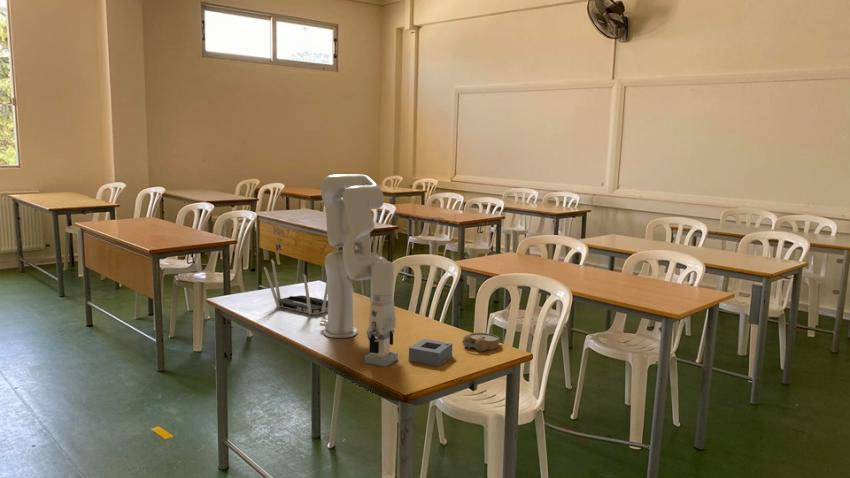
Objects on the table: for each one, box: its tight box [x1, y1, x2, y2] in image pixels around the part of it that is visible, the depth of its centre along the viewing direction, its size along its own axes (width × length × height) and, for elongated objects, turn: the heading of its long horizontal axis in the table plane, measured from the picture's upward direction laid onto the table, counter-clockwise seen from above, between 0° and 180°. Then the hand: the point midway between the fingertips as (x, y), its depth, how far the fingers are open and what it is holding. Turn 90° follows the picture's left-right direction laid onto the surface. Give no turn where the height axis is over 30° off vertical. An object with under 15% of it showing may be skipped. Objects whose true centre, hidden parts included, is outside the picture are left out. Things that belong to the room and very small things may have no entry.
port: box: [408, 338, 453, 367], centre depth 213 cm, size 11×11×5 cm
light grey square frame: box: [364, 351, 399, 368], centre depth 210 cm, size 8×8×2 cm
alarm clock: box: [461, 332, 502, 353], centre depth 226 cm, size 11×5×15 cm
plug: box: [373, 331, 391, 358], centre depth 209 cm, size 4×4×10 cm
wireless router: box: [263, 259, 328, 316], centre depth 268 cm, size 34×23×20 cm
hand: (381, 348), depth 209 cm, fingers open, 9 cm apart
